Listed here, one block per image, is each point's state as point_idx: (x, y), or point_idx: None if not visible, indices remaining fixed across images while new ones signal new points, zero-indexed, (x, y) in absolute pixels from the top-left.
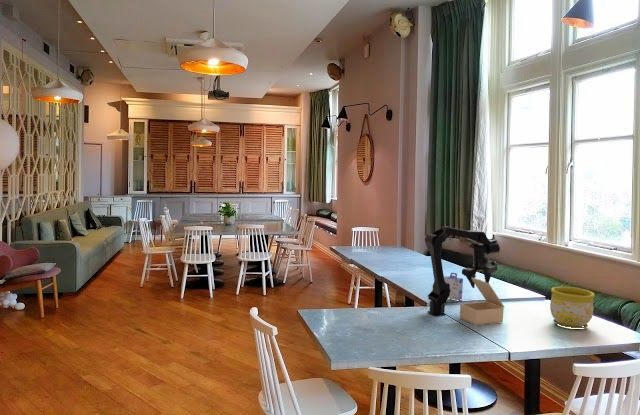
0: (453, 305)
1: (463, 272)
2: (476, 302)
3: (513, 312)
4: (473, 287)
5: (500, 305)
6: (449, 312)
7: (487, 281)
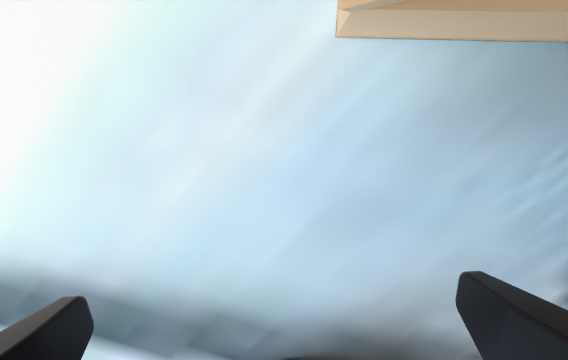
0: (375, 319)
1: None
2: (550, 4)
3: (43, 32)
4: (491, 281)
5: None
6: (554, 206)
7: (29, 357)
